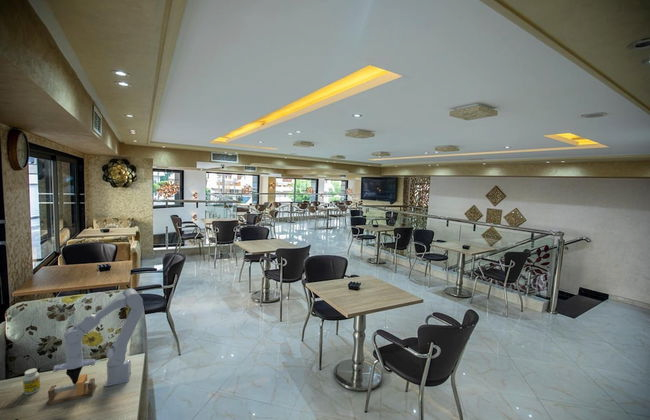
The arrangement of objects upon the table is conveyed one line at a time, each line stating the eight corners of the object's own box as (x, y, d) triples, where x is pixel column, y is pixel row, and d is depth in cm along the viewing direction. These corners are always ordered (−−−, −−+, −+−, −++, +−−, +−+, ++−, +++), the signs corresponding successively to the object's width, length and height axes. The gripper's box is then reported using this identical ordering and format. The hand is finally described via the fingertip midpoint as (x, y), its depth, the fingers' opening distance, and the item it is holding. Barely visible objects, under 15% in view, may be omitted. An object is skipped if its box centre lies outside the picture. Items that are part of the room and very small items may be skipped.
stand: (96, 385, 142) (96, 375, 141) (92, 396, 136) (91, 385, 135) (53, 394, 136) (52, 383, 135) (46, 405, 129) (45, 394, 129)
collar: (87, 385, 140) (87, 373, 139) (83, 394, 135) (82, 382, 134) (81, 387, 139) (80, 375, 139) (76, 395, 134) (76, 383, 133)
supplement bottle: (41, 385, 141) (40, 365, 140) (38, 392, 137) (37, 372, 135) (25, 389, 138) (24, 369, 137) (22, 396, 134) (21, 376, 132)
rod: (94, 383, 139) (94, 378, 139) (92, 386, 137) (92, 381, 137) (51, 391, 133) (50, 386, 133) (49, 394, 131) (48, 390, 131)
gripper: (96, 346, 141) (97, 373, 142) (57, 352, 135) (58, 380, 136) (92, 354, 134) (93, 383, 136) (50, 361, 128) (52, 390, 130)
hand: (75, 382), depth 136 cm, fingers closed
